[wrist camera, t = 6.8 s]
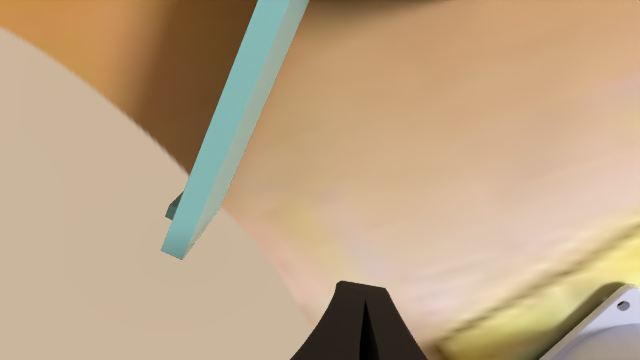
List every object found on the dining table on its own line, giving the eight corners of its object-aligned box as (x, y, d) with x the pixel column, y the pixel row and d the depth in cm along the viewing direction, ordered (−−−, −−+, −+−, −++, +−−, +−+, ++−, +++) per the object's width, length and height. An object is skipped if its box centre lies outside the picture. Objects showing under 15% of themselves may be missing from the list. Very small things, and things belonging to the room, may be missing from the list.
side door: (303, -75, 15) (284, -110, 11) (337, -57, 15) (329, -85, 11) (194, 197, 19) (150, 245, 15) (221, 210, 19) (184, 261, 15)
